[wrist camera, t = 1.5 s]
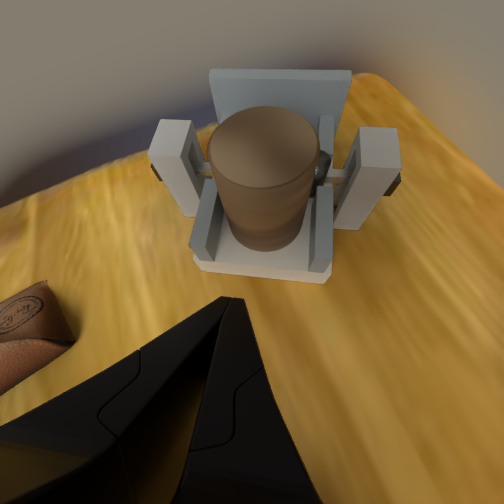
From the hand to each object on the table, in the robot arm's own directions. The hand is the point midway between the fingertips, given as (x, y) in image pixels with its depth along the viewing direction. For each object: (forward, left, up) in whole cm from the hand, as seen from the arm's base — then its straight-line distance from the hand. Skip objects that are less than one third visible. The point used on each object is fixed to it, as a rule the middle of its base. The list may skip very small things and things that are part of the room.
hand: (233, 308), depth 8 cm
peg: (+9, +3, -10) cm, 14 cm away
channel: (+11, +3, -13) cm, 17 cm away
